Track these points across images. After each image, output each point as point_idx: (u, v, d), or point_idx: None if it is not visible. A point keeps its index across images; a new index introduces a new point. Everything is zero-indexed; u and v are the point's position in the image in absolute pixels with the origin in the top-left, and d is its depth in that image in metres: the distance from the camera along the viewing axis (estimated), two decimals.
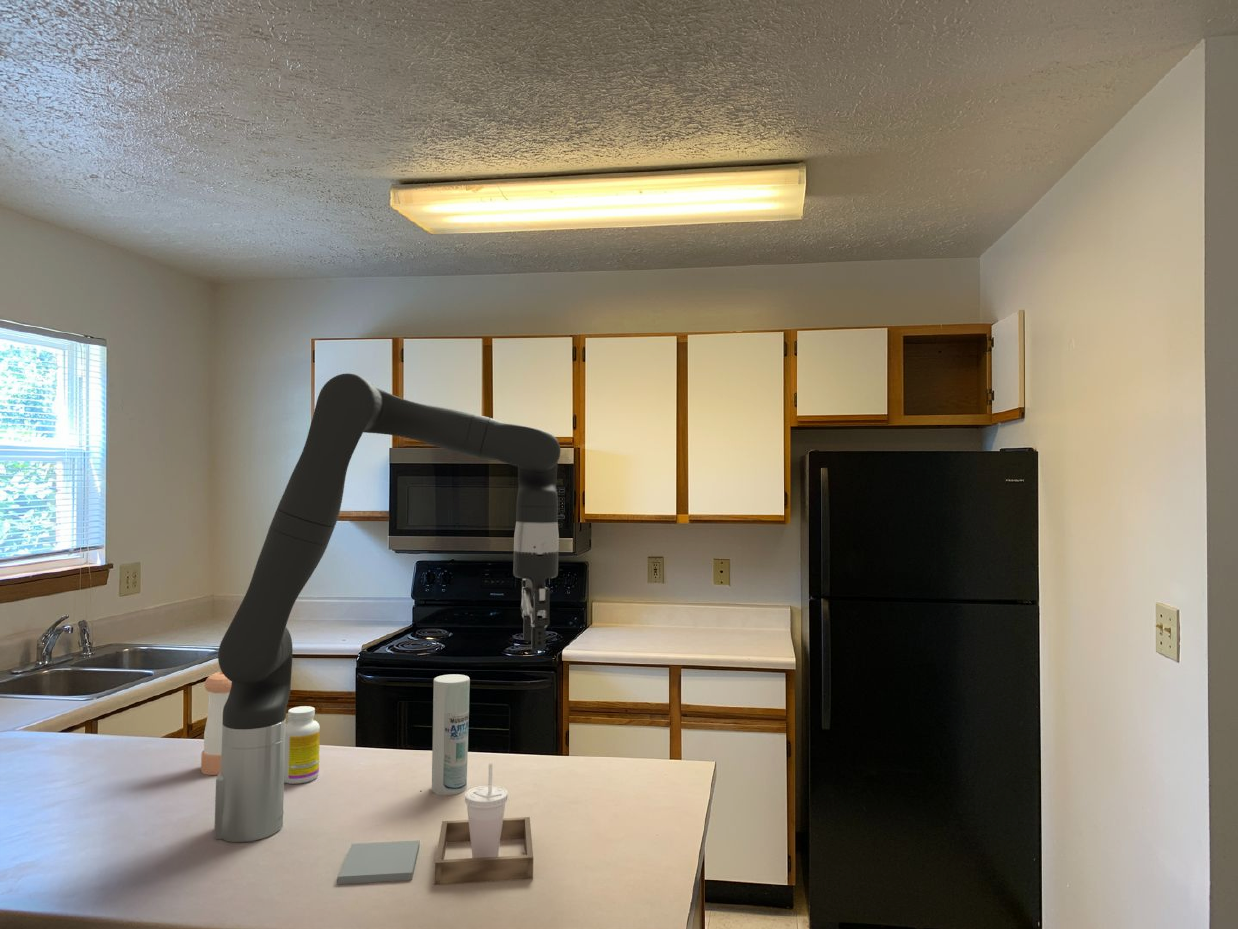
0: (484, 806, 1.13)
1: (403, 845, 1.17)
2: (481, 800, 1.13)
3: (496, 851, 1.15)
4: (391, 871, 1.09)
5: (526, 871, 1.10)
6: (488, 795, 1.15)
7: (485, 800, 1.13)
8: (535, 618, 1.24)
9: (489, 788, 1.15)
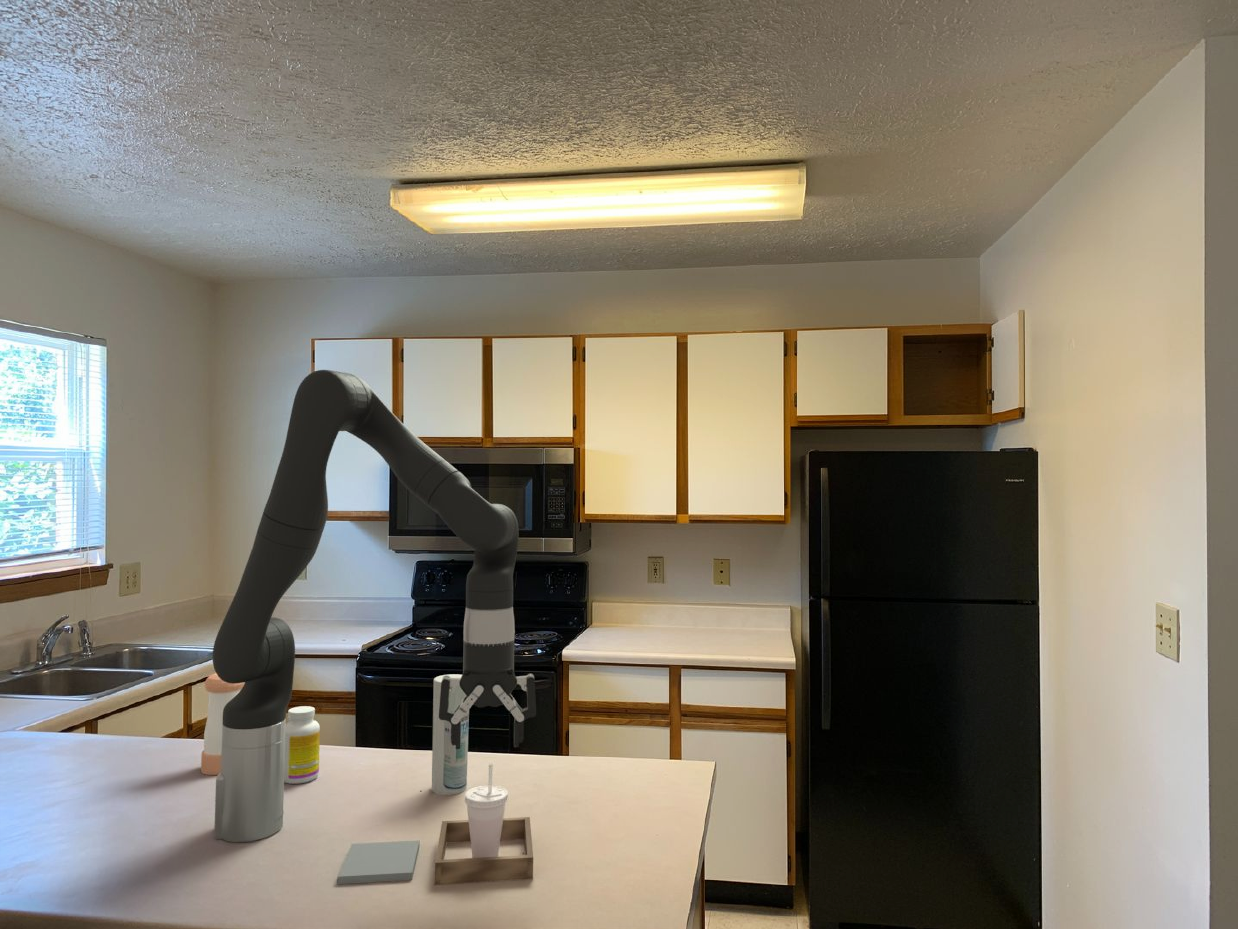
0: (484, 806, 1.13)
1: (403, 845, 1.17)
2: (481, 800, 1.13)
3: (496, 851, 1.15)
4: (391, 871, 1.09)
5: (526, 871, 1.10)
6: (488, 795, 1.15)
7: (485, 800, 1.13)
8: (535, 708, 1.16)
9: (489, 788, 1.15)
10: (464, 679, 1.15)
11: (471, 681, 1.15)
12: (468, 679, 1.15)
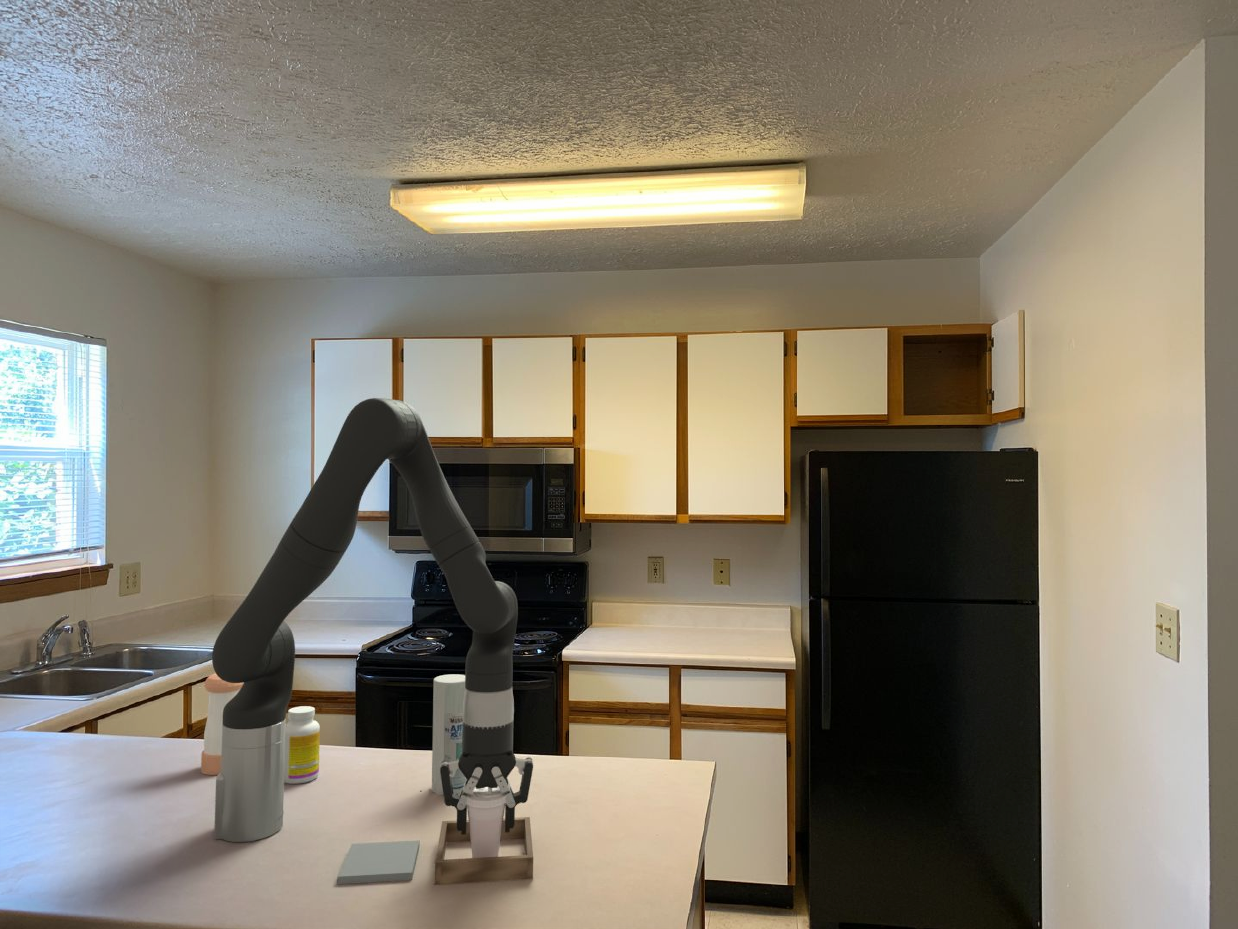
0: (484, 806, 1.13)
1: (403, 845, 1.17)
2: (481, 800, 1.13)
3: (496, 851, 1.15)
4: (391, 871, 1.09)
5: (526, 871, 1.10)
6: (488, 795, 1.15)
7: (485, 800, 1.13)
8: (527, 794, 1.16)
9: (489, 788, 1.15)
10: (462, 761, 1.14)
11: (469, 762, 1.14)
12: (466, 760, 1.14)
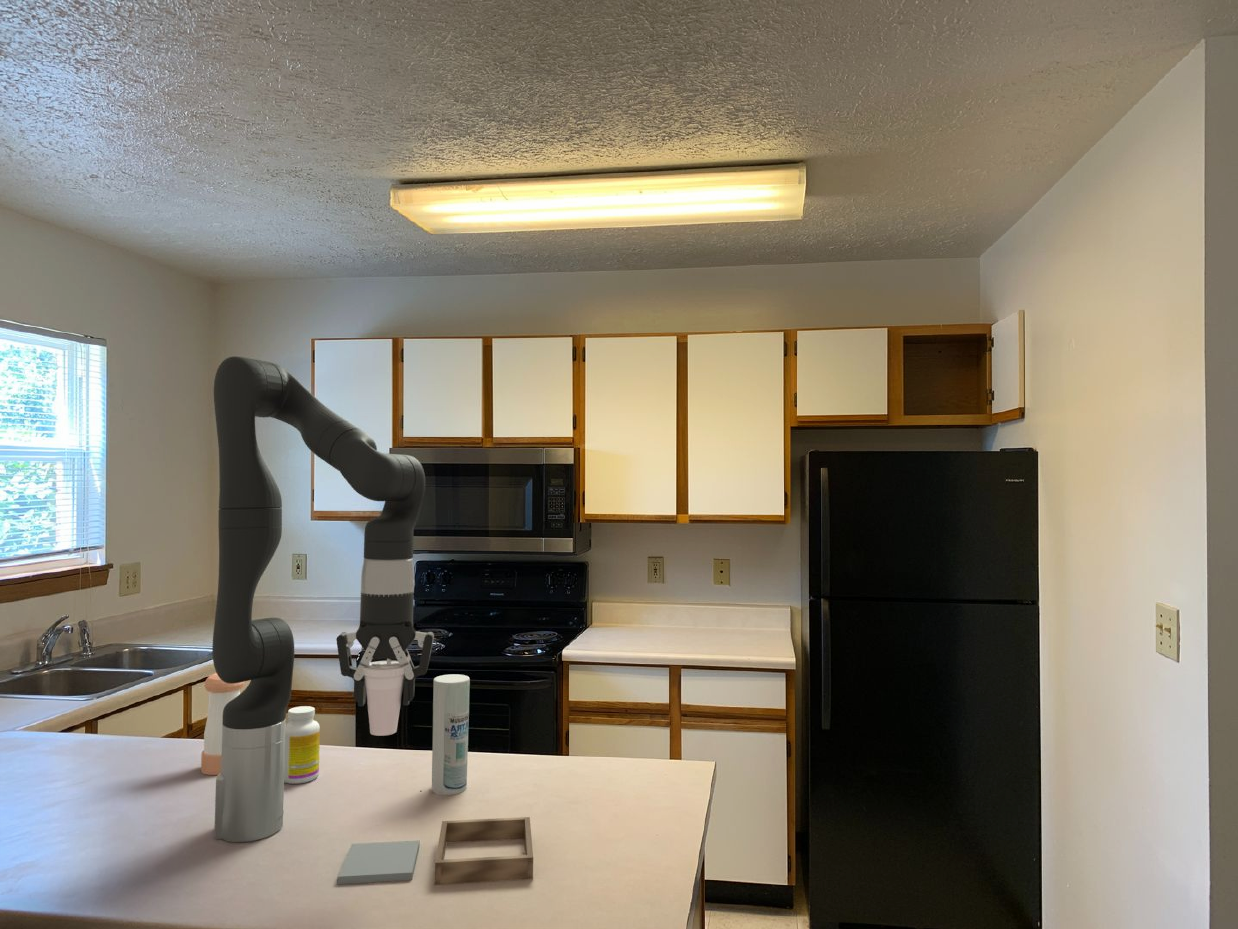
0: (380, 675, 1.11)
1: (403, 845, 1.17)
2: (377, 669, 1.12)
3: (394, 722, 1.13)
4: (391, 871, 1.09)
5: (526, 871, 1.10)
6: (386, 666, 1.13)
7: (382, 669, 1.12)
8: (427, 667, 1.14)
9: (388, 660, 1.14)
10: (359, 631, 1.13)
11: (367, 632, 1.13)
12: (363, 630, 1.13)
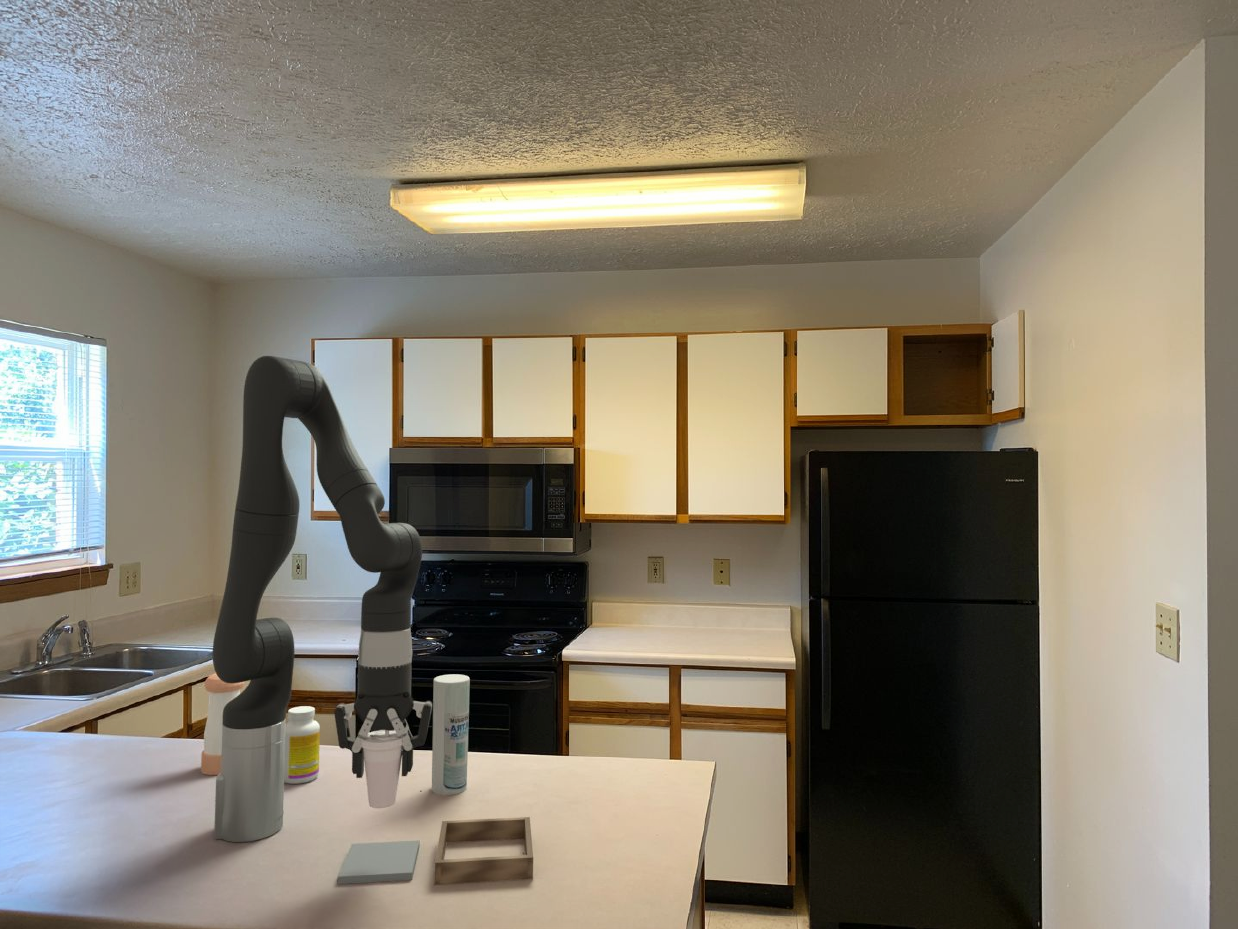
0: (378, 748, 1.11)
1: (403, 845, 1.17)
2: (376, 742, 1.11)
3: (393, 794, 1.13)
4: (391, 871, 1.09)
5: (526, 871, 1.10)
6: (384, 737, 1.12)
7: (380, 742, 1.11)
8: (425, 737, 1.14)
9: (386, 731, 1.13)
10: (357, 703, 1.12)
11: (365, 703, 1.12)
12: (361, 702, 1.12)
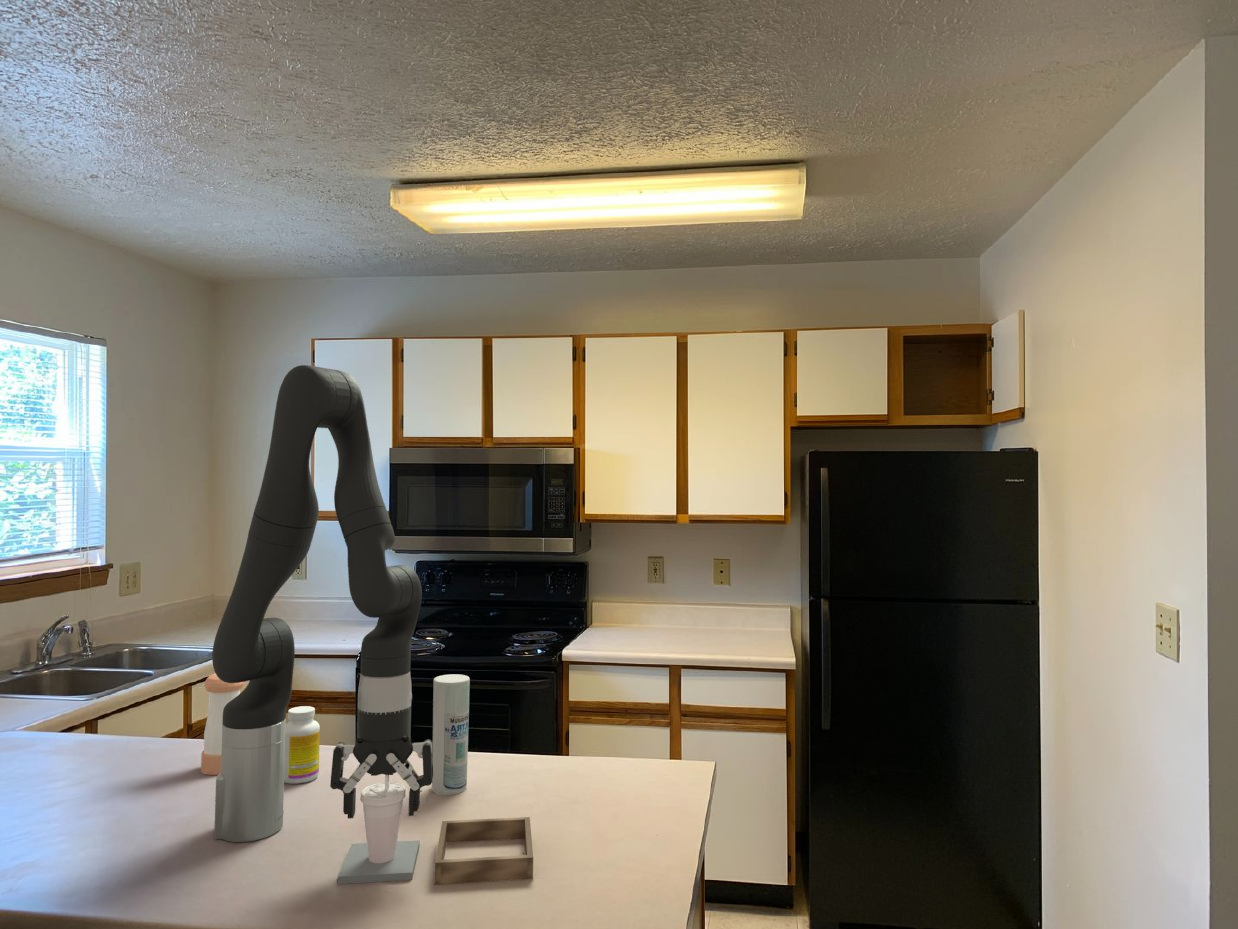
0: (378, 804, 1.11)
1: (403, 845, 1.17)
2: (375, 797, 1.11)
3: (392, 849, 1.12)
4: (391, 871, 1.09)
5: (526, 871, 1.10)
6: (384, 792, 1.12)
7: (380, 797, 1.11)
8: (431, 776, 1.14)
9: (386, 785, 1.13)
10: (357, 747, 1.12)
11: (364, 749, 1.12)
12: (361, 747, 1.12)
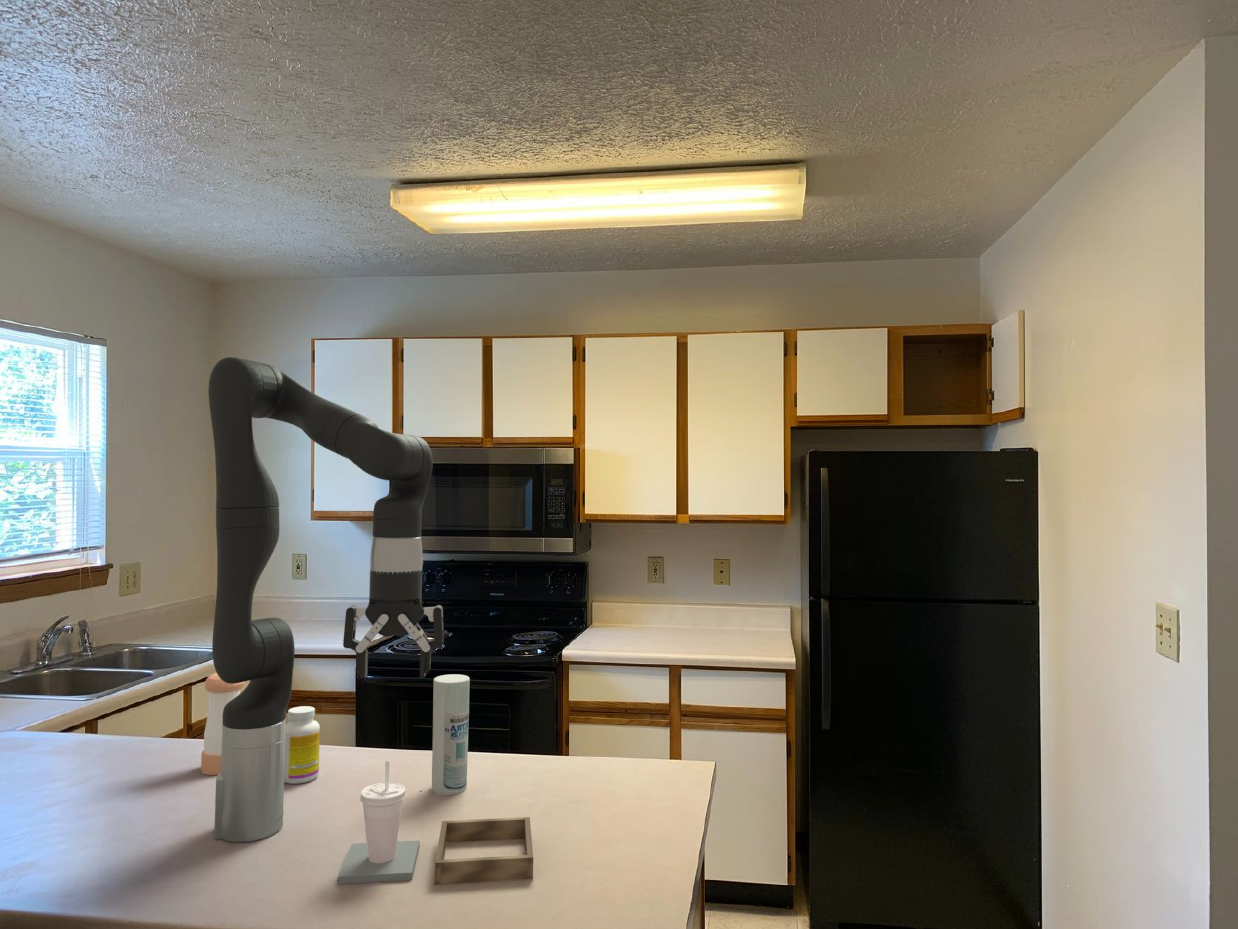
0: (378, 803, 1.11)
1: (403, 845, 1.17)
2: (375, 797, 1.11)
3: (392, 849, 1.12)
4: (391, 871, 1.09)
5: (526, 871, 1.10)
6: (384, 792, 1.12)
7: (380, 797, 1.11)
8: (442, 638, 1.16)
9: (386, 785, 1.13)
10: (369, 608, 1.14)
11: (377, 610, 1.14)
12: (373, 608, 1.14)
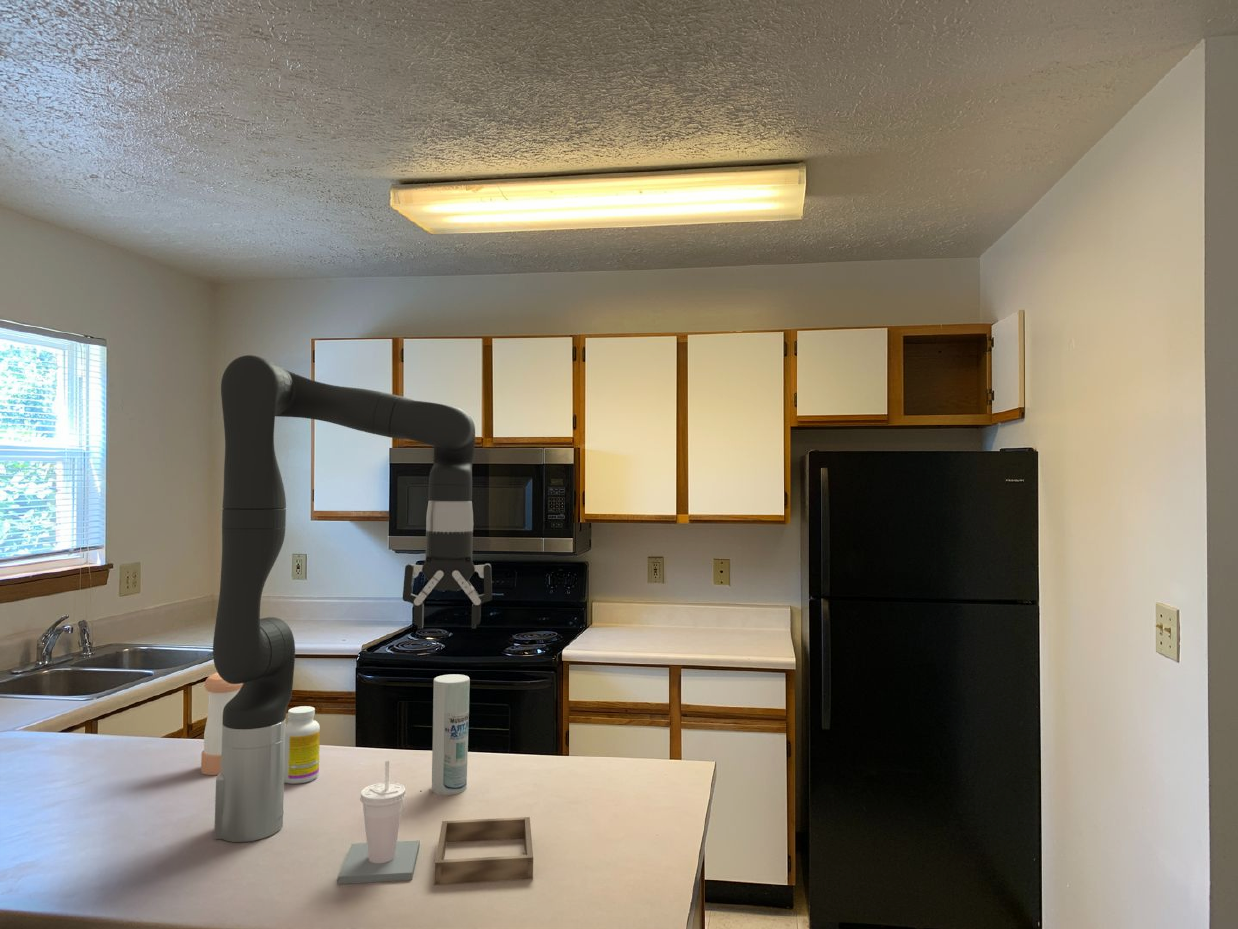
0: (378, 803, 1.11)
1: (403, 845, 1.17)
2: (375, 797, 1.11)
3: (392, 849, 1.12)
4: (391, 871, 1.09)
5: (526, 871, 1.10)
6: (384, 792, 1.12)
7: (380, 797, 1.11)
8: (491, 593, 1.27)
9: (386, 785, 1.13)
10: (426, 565, 1.26)
11: (432, 567, 1.26)
12: (430, 565, 1.26)
